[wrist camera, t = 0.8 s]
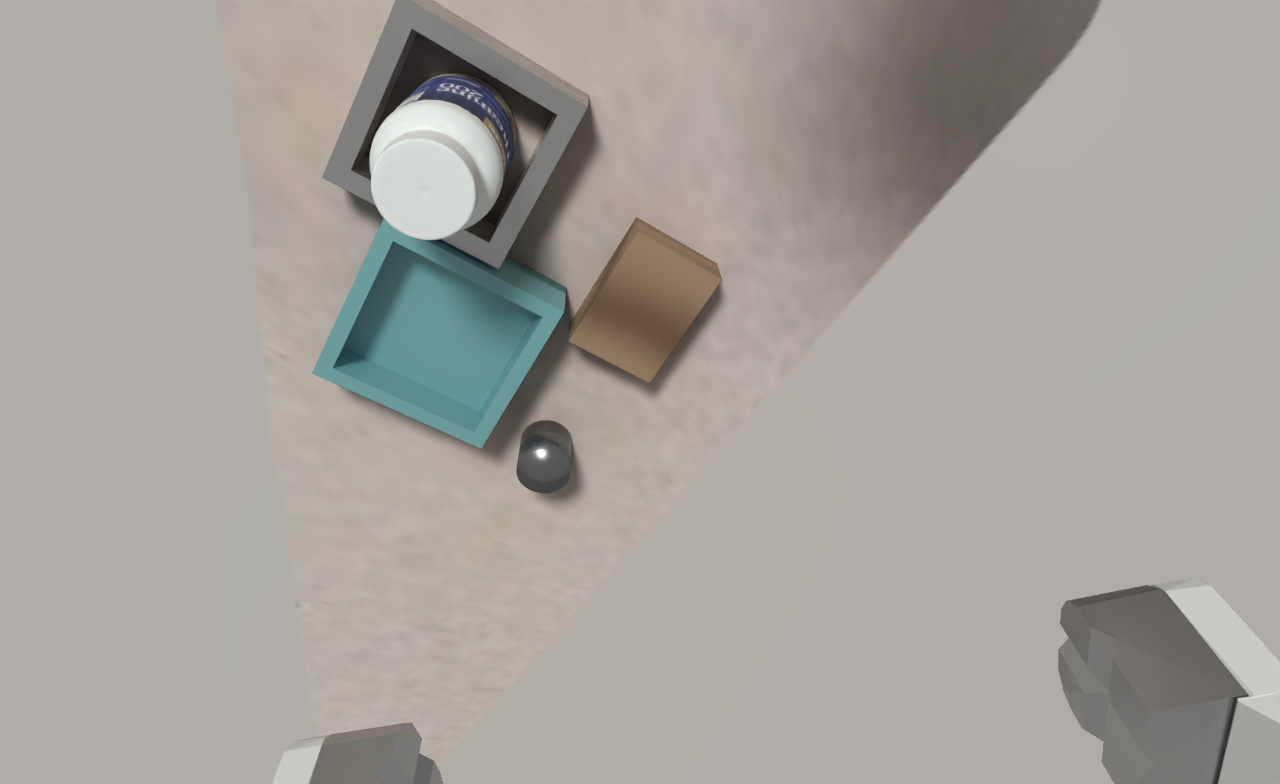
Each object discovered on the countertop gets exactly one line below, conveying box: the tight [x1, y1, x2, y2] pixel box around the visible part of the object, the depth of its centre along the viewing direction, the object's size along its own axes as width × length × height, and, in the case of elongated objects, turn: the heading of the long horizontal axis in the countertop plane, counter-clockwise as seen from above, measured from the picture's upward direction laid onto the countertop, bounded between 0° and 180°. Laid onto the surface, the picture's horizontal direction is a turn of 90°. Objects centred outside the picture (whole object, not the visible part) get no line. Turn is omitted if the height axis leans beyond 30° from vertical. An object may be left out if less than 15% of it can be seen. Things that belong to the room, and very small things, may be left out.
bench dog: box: [517, 420, 572, 493], centre depth 48 cm, size 3×3×3 cm
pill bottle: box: [370, 73, 516, 240], centre depth 36 cm, size 5×5×10 cm
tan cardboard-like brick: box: [569, 217, 722, 383], centre depth 44 cm, size 7×5×2 cm
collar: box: [322, 0, 589, 269], centre depth 39 cm, size 9×9×2 cm
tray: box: [312, 219, 566, 449], centre depth 44 cm, size 10×10×3 cm
